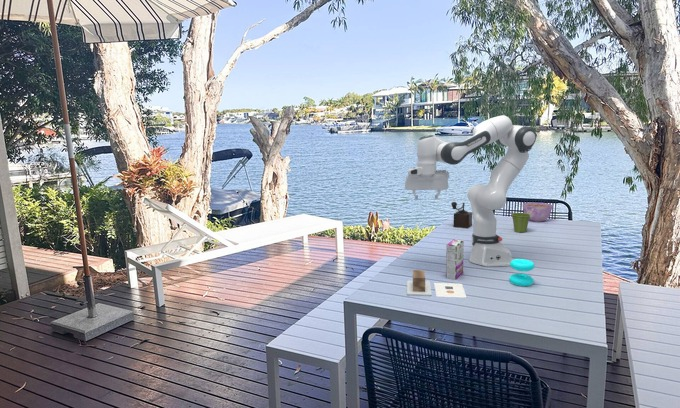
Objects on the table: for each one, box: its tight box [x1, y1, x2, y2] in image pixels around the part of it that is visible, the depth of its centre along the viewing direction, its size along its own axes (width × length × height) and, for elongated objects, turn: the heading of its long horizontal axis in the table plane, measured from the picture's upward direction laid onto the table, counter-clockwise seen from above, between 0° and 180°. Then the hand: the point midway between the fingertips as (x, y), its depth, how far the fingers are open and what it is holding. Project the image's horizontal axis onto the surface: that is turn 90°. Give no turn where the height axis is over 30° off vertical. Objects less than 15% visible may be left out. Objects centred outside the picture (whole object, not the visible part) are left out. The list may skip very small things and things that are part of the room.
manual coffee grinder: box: [450, 201, 473, 229], centre depth 302 cm, size 16×11×18 cm
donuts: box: [508, 258, 536, 287], centre depth 194 cm, size 10×10×10 cm
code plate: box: [433, 282, 467, 298], centre depth 188 cm, size 12×16×1 cm
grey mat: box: [406, 280, 433, 297], centre depth 190 cm, size 10×16×1 cm, turn 172°
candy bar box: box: [445, 238, 465, 280], centre depth 205 cm, size 11×5×16 cm, turn 148°
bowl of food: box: [522, 201, 554, 223], centre depth 317 cm, size 20×20×12 cm
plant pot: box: [511, 212, 531, 233], centre depth 286 cm, size 12×12×11 cm
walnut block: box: [412, 269, 426, 292], centre depth 190 cm, size 5×10×6 cm, turn 172°
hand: (426, 199), depth 211 cm, fingers open, 8 cm apart
